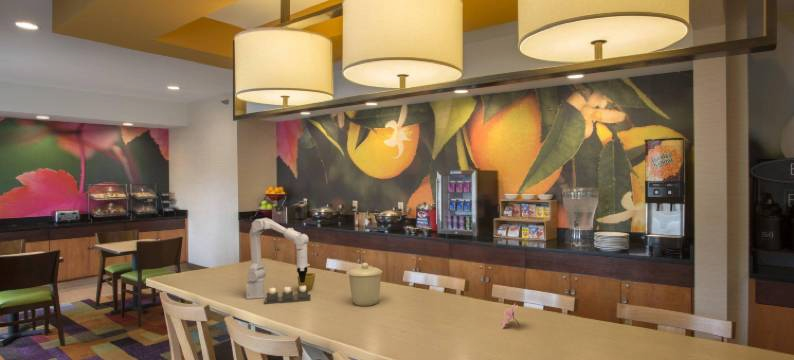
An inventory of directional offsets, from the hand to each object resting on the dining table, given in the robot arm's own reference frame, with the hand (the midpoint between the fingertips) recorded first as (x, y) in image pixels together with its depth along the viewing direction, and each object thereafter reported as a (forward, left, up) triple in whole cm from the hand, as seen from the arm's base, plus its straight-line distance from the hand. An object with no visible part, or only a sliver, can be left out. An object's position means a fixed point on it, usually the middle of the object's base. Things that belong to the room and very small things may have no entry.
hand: (302, 281), depth 248 cm
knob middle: (-8, 0, -6) cm, 10 cm away
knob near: (-16, 0, -6) cm, 17 cm away
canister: (+32, -18, -10) cm, 38 cm away
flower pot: (+2, +20, -10) cm, 22 cm away
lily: (+88, -70, -10) cm, 113 cm away
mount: (-8, 0, -9) cm, 12 cm away
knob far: (0, 0, -6) cm, 6 cm away
